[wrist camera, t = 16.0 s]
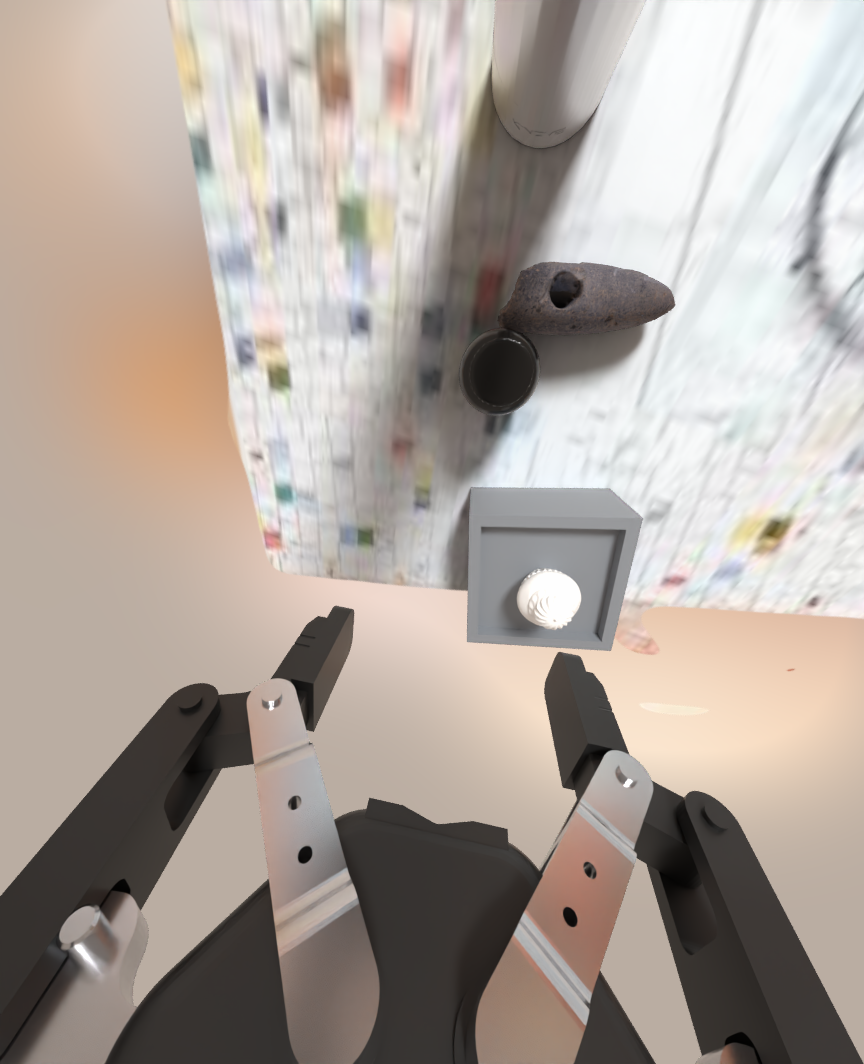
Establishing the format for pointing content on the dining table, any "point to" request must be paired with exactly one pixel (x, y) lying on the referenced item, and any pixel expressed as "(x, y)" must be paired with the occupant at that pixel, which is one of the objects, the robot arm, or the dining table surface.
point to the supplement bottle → (499, 371)
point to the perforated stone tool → (583, 299)
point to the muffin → (548, 598)
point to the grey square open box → (548, 561)
